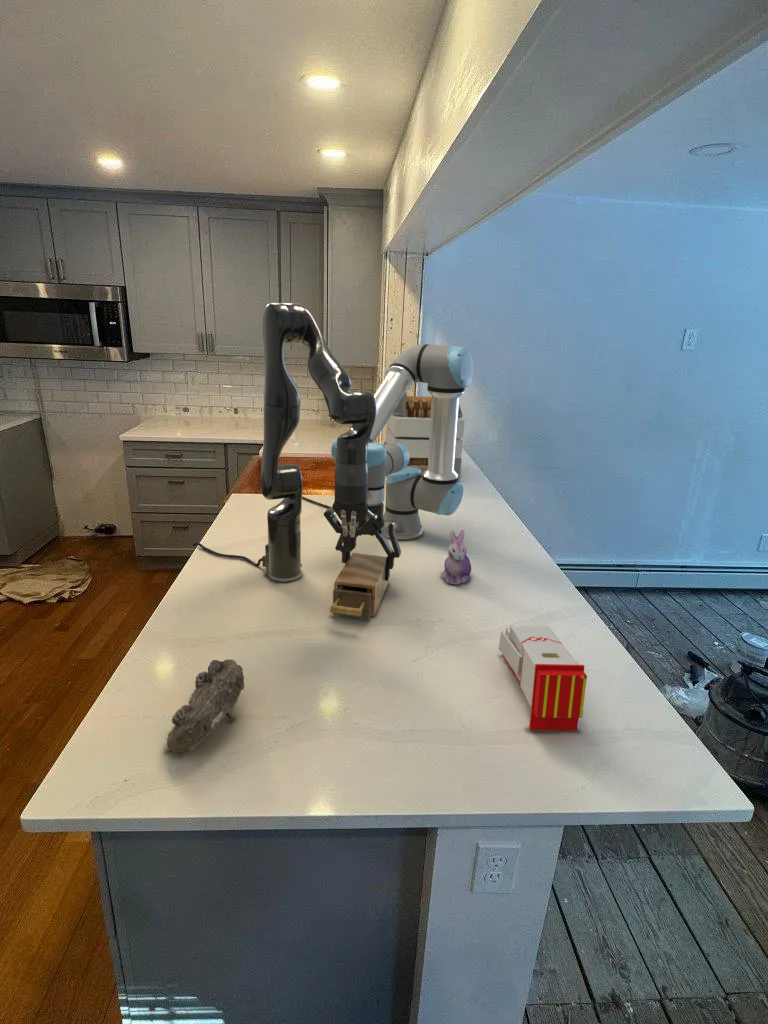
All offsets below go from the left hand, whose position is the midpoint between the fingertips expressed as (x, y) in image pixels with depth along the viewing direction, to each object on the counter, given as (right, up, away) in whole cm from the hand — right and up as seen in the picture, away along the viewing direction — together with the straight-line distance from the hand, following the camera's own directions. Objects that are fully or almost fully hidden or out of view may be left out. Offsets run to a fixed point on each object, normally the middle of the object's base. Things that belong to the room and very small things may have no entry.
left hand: (349, 549), depth 134 cm
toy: (+40, -28, -13) cm, 51 cm away
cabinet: (+2, -14, +21) cm, 26 cm away
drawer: (+1, -16, +15) cm, 21 cm away
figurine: (+30, -11, +34) cm, 47 cm away
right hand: (+3, -9, +25) cm, 27 cm away
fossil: (-25, -30, -26) cm, 47 cm away
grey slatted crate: (+25, +28, +141) cm, 146 cm away
